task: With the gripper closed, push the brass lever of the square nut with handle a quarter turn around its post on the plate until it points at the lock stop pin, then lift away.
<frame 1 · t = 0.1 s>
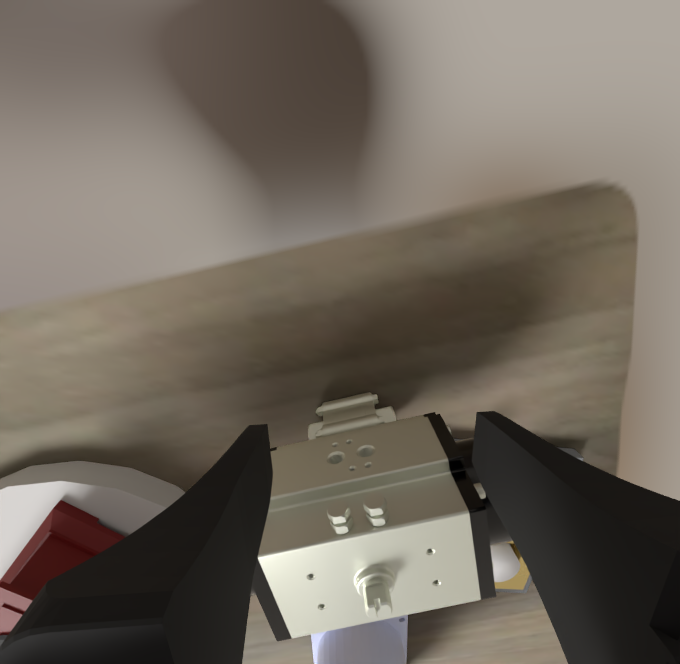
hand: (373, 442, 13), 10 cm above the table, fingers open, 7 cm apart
square nut with handle: (523, 549, 25), point 3 cm above the table, hinge at 0.0°
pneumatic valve: (350, 409, 24), on the table
gramophone: (105, 569, 28), on the table
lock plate: (475, 515, 27), on the table
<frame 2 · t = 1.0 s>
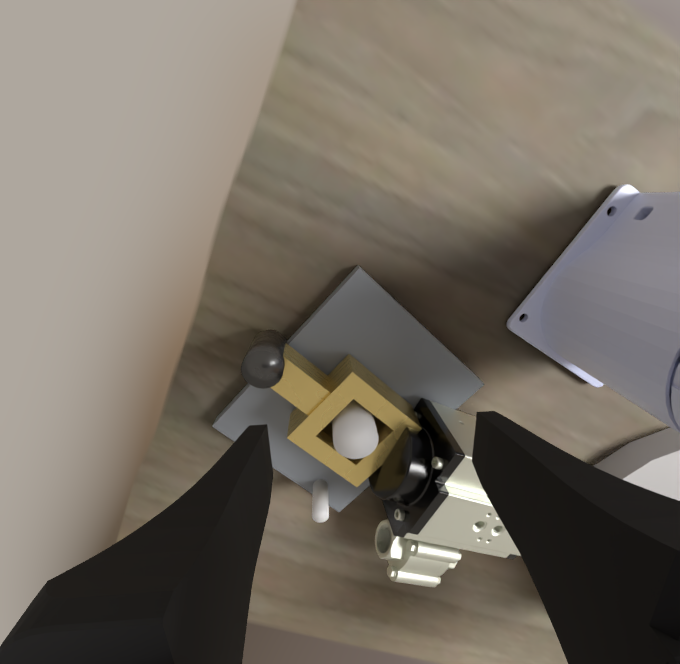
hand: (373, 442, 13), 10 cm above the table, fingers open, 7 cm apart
square nut with handle: (322, 400, 20), point 3 cm above the table, hinge at 0.4°, touching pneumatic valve
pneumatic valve: (404, 569, 24), point 3 cm above the table, touching square nut with handle, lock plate
gramophone: (665, 529, 29), on the table
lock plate: (349, 399, 23), on the table
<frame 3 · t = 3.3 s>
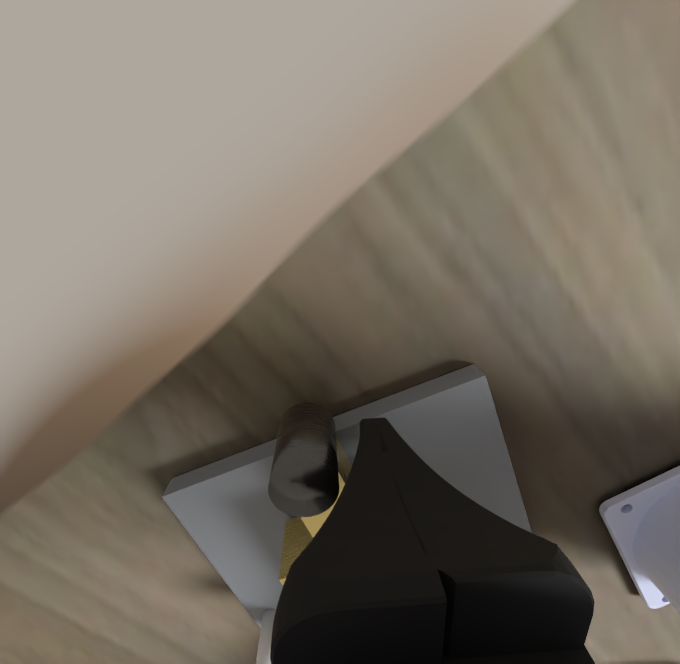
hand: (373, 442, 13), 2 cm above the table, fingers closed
square nut with handle: (351, 537, 13), point 3 cm above the table, hinge at 0.7°, touching gripper
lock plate: (366, 519, 16), on the table
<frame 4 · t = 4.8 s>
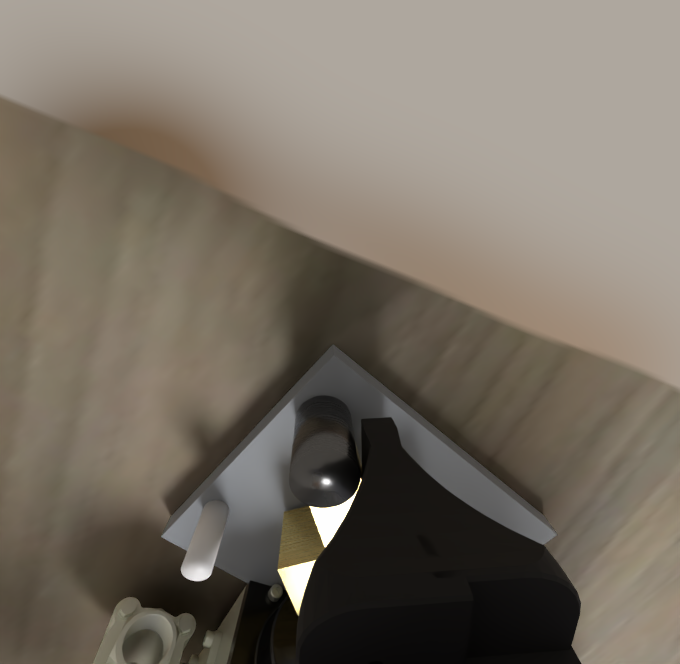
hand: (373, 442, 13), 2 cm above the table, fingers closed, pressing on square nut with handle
square nut with handle: (353, 534, 13), point 3 cm above the table, hinge at 56.6°, touching gripper
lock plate: (360, 519, 16), on the table
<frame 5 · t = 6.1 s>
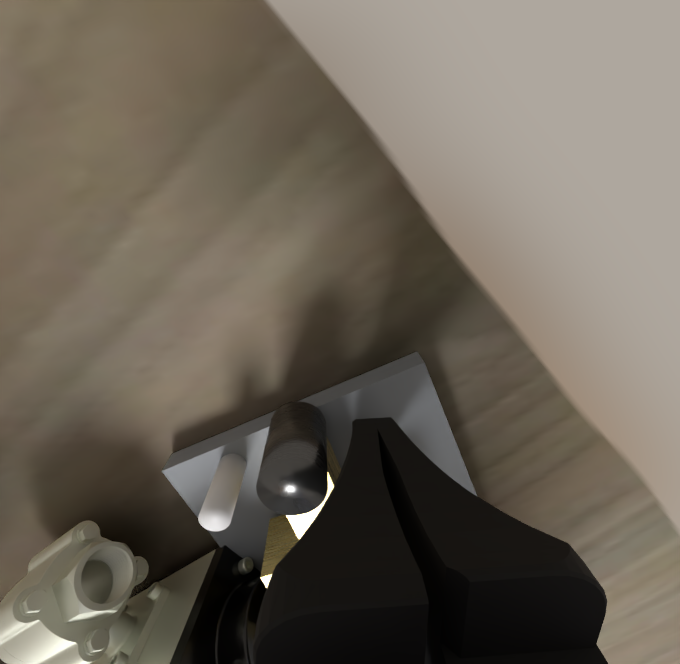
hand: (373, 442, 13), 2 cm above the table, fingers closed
square nut with handle: (335, 538, 13), point 3 cm above the table, hinge at 85.2°
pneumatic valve: (10, 583, 13), point 3 cm above the table, touching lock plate
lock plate: (350, 521, 16), on the table
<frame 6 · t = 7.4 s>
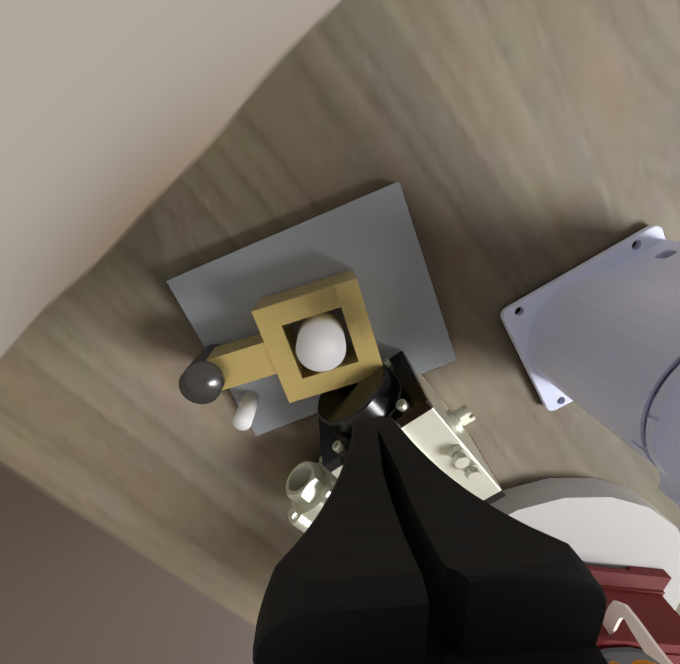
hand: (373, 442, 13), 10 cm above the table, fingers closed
square nut with handle: (279, 350, 19), point 3 cm above the table, hinge at 85.4°
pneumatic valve: (302, 520, 23), point 3 cm above the table, touching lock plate
gramophone: (539, 575, 30), on the table
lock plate: (321, 321, 21), on the table
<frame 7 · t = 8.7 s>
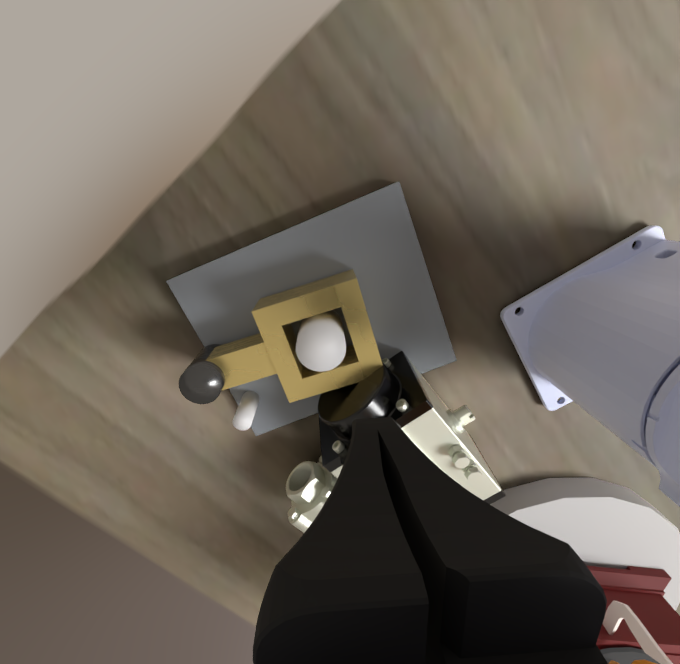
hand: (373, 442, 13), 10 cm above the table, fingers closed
square nut with handle: (279, 350, 19), point 3 cm above the table, hinge at 85.4°
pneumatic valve: (302, 520, 23), point 3 cm above the table, touching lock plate
gramophone: (539, 575, 30), on the table
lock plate: (321, 321, 21), on the table
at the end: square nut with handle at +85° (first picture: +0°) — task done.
